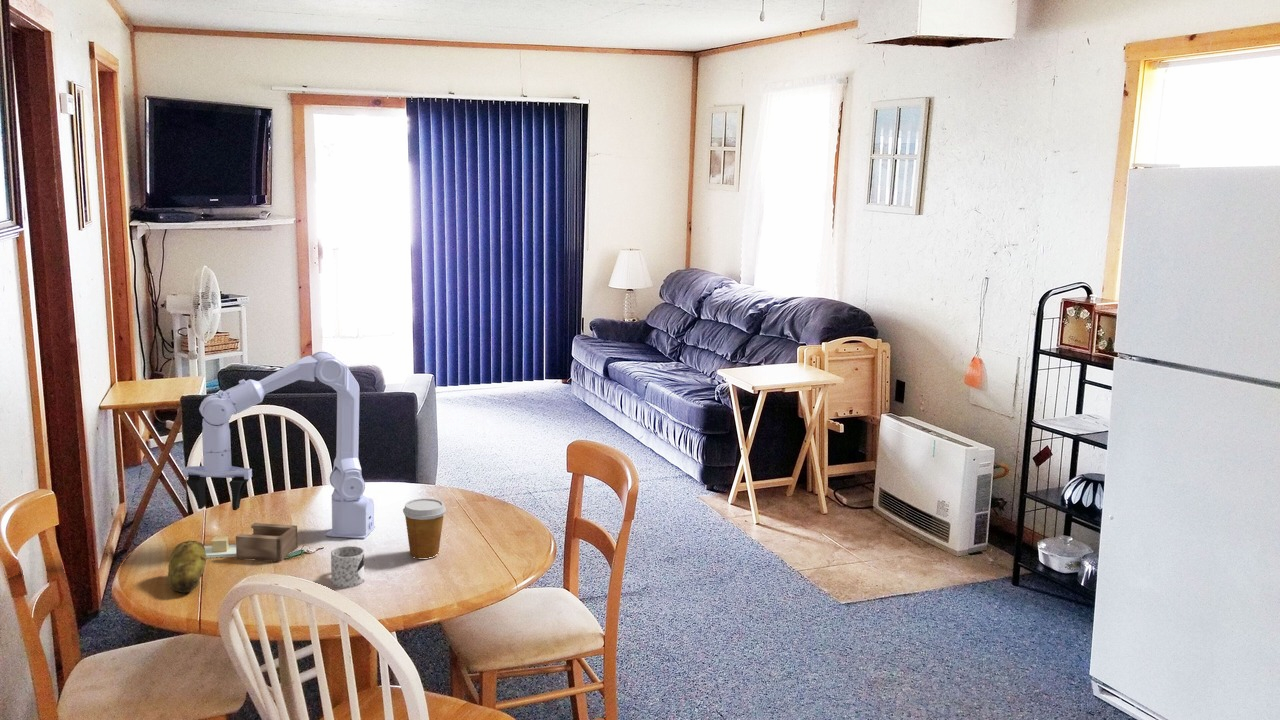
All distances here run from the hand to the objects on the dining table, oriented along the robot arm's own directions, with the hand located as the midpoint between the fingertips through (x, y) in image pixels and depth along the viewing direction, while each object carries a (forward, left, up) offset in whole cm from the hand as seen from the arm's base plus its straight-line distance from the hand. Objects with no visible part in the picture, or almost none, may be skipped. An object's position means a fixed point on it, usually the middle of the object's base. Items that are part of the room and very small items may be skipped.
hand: (218, 508), depth 216 cm
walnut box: (-11, 0, -10) cm, 15 cm away
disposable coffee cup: (-45, -5, -10) cm, 47 cm away
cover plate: (-1, +2, -10) cm, 10 cm away
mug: (-33, +11, -10) cm, 37 cm away
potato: (-3, +19, -10) cm, 22 cm away
